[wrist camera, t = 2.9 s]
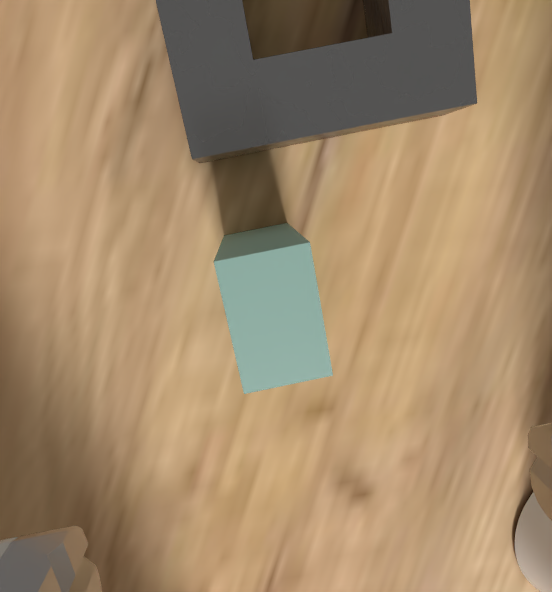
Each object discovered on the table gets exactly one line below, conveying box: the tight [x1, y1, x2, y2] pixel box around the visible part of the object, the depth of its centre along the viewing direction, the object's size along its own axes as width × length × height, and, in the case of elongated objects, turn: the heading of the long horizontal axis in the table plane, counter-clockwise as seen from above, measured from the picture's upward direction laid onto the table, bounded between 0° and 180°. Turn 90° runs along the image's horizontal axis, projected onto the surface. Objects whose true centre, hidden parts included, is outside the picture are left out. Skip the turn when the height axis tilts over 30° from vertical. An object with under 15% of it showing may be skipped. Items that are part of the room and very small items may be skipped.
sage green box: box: [214, 223, 333, 394], centre depth 24 cm, size 4×6×10 cm, turn 11°
